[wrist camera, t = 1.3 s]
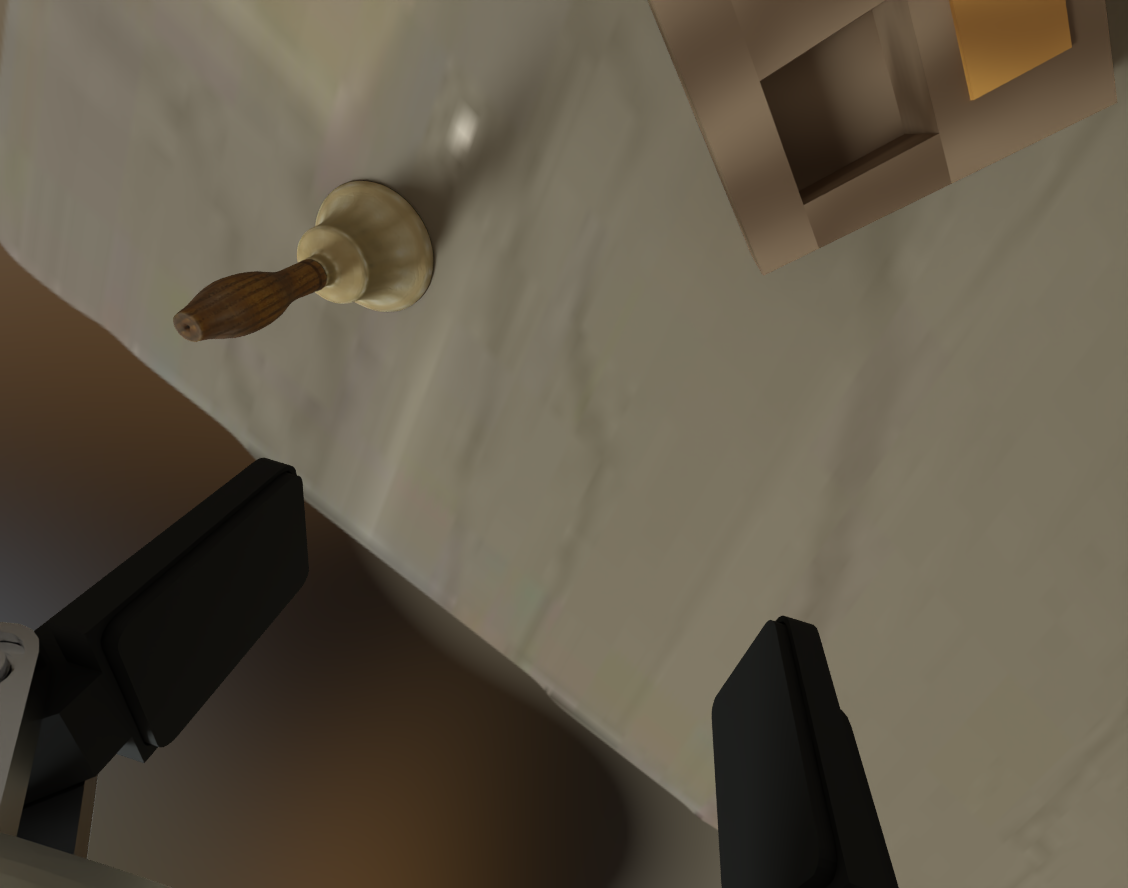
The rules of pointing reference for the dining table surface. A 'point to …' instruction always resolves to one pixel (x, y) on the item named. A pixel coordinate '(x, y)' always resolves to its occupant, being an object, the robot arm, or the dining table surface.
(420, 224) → the hand bell
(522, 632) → the dining table surface
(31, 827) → the robot arm
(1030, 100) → the socket block
